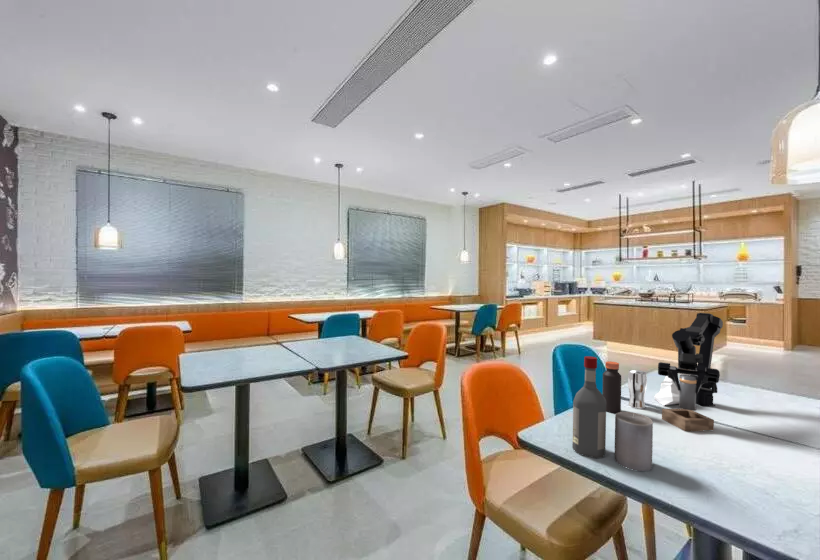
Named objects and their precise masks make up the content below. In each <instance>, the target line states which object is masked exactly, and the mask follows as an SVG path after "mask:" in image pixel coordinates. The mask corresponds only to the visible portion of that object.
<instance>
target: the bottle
mask: <svg viewBox="0 0 820 560" xmlns="http://www.w3.org/2000/svg"><path fill="white" fill-rule="evenodd" d="M605 369H606V370H605V371H604V372H603V373H602V395H603V396H604V397H605V399H606V413H609V414H610V413H612V414H616V413H619V412H622V375H621V374H620V372H619V369H620V363H619V362H616V361H605Z"/></svg>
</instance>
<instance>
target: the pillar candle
mask: <svg viewBox="0 0 820 560" xmlns="http://www.w3.org/2000/svg"><path fill="white" fill-rule="evenodd" d="M614 417H615V420H614V423H615V424H614V452H613V453H614V456H613V457H614V461H615V463H617V464H618V465H619V464H620V465H619V466H621V465H622V466H621V467H623V466H624V467H623V468H625V467H627V468H629V470H630V469H633V470H632V471H634V470H637V471H636V472H646V471H647V472H649V471H651V470H652V469H653V446H654V445H653V438H654V437H653V435H654V431H653V430H654V429H653V428H654V425H653V424H654V422H653V420H652V419H651V418H650V417H648V416H645V415H643V414H640V413H636V412H632V411H631V412H629V411H625V412H624V411H621V412H619V413H615V416H614ZM627 468H626V469H627Z"/></svg>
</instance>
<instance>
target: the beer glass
mask: <svg viewBox="0 0 820 560" xmlns="http://www.w3.org/2000/svg"><path fill="white" fill-rule="evenodd" d="M627 385H628V387H627V388H628V392H629V401H628V406H629V407H630V406H631V408H633V409H637V410H638V409H639V410H643V409H644V410H645V409H646V404H645V397H646V396H645V395H646V392H647V388H648V375H647V372H646V371H643V370H638V369H628V375H627Z"/></svg>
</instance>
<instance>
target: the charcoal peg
mask: <svg viewBox="0 0 820 560" xmlns="http://www.w3.org/2000/svg"><path fill="white" fill-rule="evenodd" d="M678 379H679V384H680V391H679V404H678V407H679V409H686V410H693V411H696V409H697V404H696V381H697V380H696V377H695V376H691V375H687V374H679V376H678Z"/></svg>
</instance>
